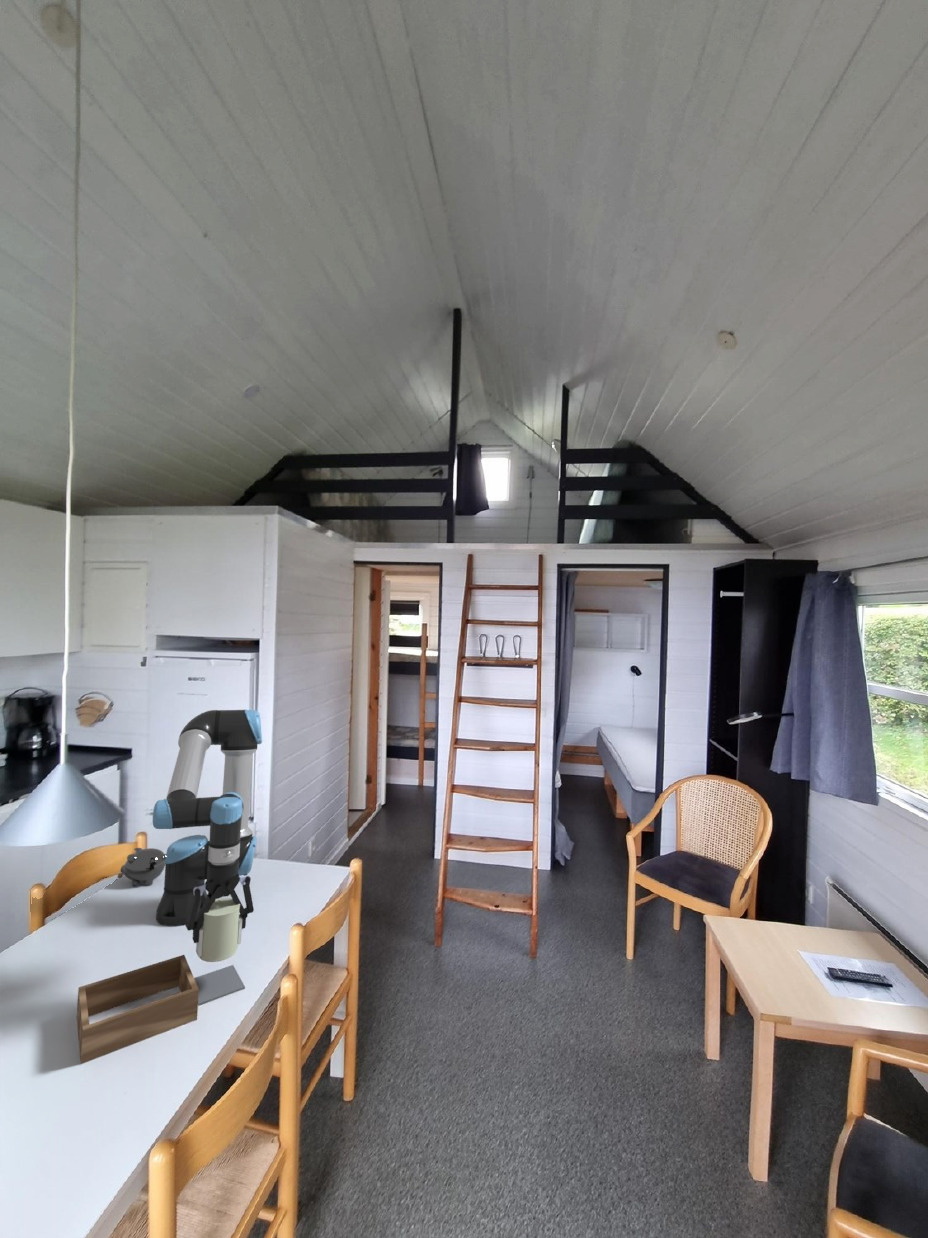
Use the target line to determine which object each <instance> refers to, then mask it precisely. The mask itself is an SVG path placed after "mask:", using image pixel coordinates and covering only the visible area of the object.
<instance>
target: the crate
mask: <svg viewBox="0 0 928 1238" xmlns="http://www.w3.org/2000/svg"><path fill="white" fill-rule="evenodd" d="M194 978H195V977H194V974H193V972H192V969H191V967H190V964H189V963H188V960H187V958H186V955H185V954H181V955H179V956H175V957H172V958H169V959H165V960H163V961H162V960H161V961H159V962H157V963H153V964H150V965H145V966H143V967H141V968H136V969H134V970H130V971H127V972H124V973H121V974H117V975H114V976H111V977H108V978H104V979H102V980H98V981H95V982H91V983H88V984H86V985H82V986H79V987H78V989H77V990H78V992H77V1003H76V1004H77V1008H76V1025H77V1026H76V1027H77V1038H78V1049H79V1060H80V1065H82V1064H85V1063H87V1062H90V1061H92V1060H95V1059H98V1058H100V1057H103V1056H105V1055H108V1054H111V1053H114V1052H116V1051H118V1050H121V1049H125V1048H126V1047H129V1046H132V1045H135V1044H137V1043H140V1042H141V1041H142V1042H143V1041H144V1040H147V1039H150V1038H153V1037H155V1036H158V1035H160V1034H163V1033H165V1032H168V1031H171V1030H173V1029H177V1028H179V1027H181V1026H183V1025H186V1024H189V1023H191V1022H194V1021H196V1020H198V1010H199V1006H198V995H199V989H198V986H197V984H196V981H195V979H194ZM177 987H178V989H179V990H180V992H178V993H176V994H172V995H170V996H166V997H164V998H161V999H158V1000H155V1001H153V1002H150V1003H147V1004H144V1005H142V1006H139V1007H135V1008H133V1009H130V1010H127V1011H123V1012H121V1013H118V1014H116V1015H113V1016H109V1017H106V1018H103V1019H101V1020H98V1021H95V1022H92V1023H90V1020H89V1019H90V1018H89V1017H91V1016H95V1015H97V1014H98V1015H99V1014H101V1013H103V1012H106V1011H109V1010H113V1009H115V1008H118V1007H121V1006H124V1005H127V1004H130V1003H133V1002H135V1001H138V1000H141V999H145V998H148V997H150V996H153V995H157V994H159V993H162V992H164V991H168V990H171V989H174V988H177Z"/></svg>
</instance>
